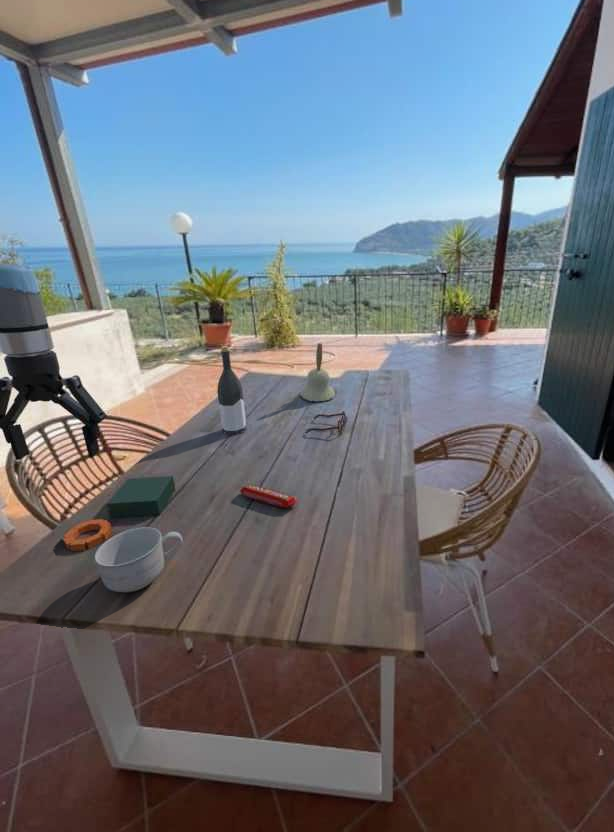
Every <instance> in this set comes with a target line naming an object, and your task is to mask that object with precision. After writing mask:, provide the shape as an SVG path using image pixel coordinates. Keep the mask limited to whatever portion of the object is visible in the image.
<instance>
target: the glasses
mask: <svg viewBox="0 0 614 832" xmlns="http://www.w3.org/2000/svg"><path fill="white" fill-rule="evenodd" d="M338 416H341V418H340V419H339V420H337V426H332V427H324V428H317V427H311V428H309V429H308V430H306V431H305V432H304V433H307V434H308V433H309V432H311V431H319V432H323V431H330V430H336V429H337V430H338V433H339V435H342V434H343V431H342V430H344V429H343V425H346V424H347V416H346V412H345V411H343V410H342V411H341V412H340V413H334V414H323V413H321V414H319V413H318V414H317V415H315V416H314V417H313V419H315V420H316V419H318V417H325V418H331V417H338ZM342 423H343V424H342ZM345 423H346V424H345ZM341 433H342V434H341Z"/></svg>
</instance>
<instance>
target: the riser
mask: <svg viewBox="0 0 614 832" xmlns="http://www.w3.org/2000/svg"><path fill="white" fill-rule="evenodd" d="M175 491H176V486H175V479H174V475H168V476H167V475H166V476H148V477H133V478H130V477H129V478H127V479H126V480H125V481H124V483H123V484H122V485H121V486H120V487H119V489H118V490H117V491H116V492H115V494H114V495H112V497H111V498H110V499H109V500H108V502H107V503H106V506H107V510H108V514H109V517H110V519H119V518H135V517H149V516H160V515H161V514H162V512H163V510H164V509H165V507H166V506H167V504H168V502H169V500H170V499H171V497H172V495H173V494H174V492H175Z"/></svg>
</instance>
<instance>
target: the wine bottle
mask: <svg viewBox="0 0 614 832" xmlns="http://www.w3.org/2000/svg"><path fill="white" fill-rule="evenodd" d="M220 353H221V360H222V372H221V375H220V377H219V379H218V382H217V390H216V392H217V399H218V407H219V414H220V422H221V429H222V430H221V431H222V433H223V432H225V433H227V434H237V433H240V432H242V431H244V430H245V428H246V429H247V419H246V411H245V403H244V401H245V400H244V394H243V387H242V386H243V385H242V384H241V381H240V380H239V378H238V376H237V374H236V373H235V371H234V370H233V369H232V365H231V364H232V363H231V356H230V350H229V346H228V345H222V346H221V351H220ZM245 431H246V430H245ZM245 431H244V432H245ZM225 433H224V434H225ZM227 434H226V435H227ZM240 434H241V433H240ZM237 435H238V434H237Z"/></svg>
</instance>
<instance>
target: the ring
mask: <svg viewBox="0 0 614 832" xmlns="http://www.w3.org/2000/svg"><path fill="white" fill-rule="evenodd" d="M97 530H98V532H97V533H95V534H93V535H90V536H89V537H87V538H81V539H77V538H79V536H81V535H83V534H84V533H87V532H89V531H97ZM112 532H113V529H112V524H110V522H109V521H108V520H106V519H104V518H100V519H99V518H98V519H90V520H86V521H84V522H81V523H79V524H77V525H75V526H73V528H70V529H69V530H68V531H67V532H66V533H65V534H64V536H63V537H62V541H63V545H64V546H65V547H66V548H67V550H68V551H71V552H75V551H77V552H78V551H86V550H87V549H89V550H91V549H92V548H94V547H96V546H98V545H100V544H103V543H104V541H107V540H108V539H109V537H110V535H111V534H112Z"/></svg>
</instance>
